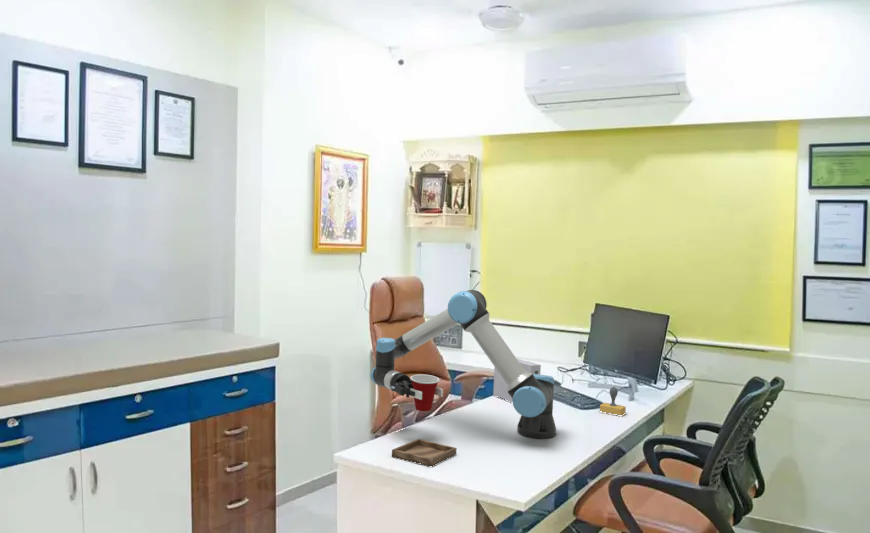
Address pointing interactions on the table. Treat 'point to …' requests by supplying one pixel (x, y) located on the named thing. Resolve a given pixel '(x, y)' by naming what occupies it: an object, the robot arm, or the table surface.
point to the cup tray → (424, 452)
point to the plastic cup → (424, 390)
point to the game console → (501, 385)
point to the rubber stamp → (613, 404)
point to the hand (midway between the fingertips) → (431, 394)
